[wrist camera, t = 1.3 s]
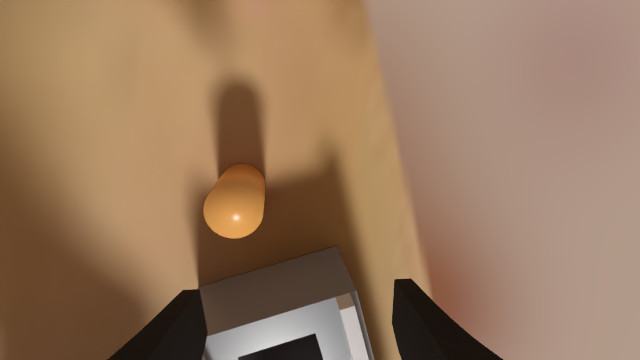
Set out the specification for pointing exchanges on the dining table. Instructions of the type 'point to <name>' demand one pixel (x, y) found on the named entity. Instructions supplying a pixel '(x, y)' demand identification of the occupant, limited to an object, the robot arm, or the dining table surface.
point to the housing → (287, 313)
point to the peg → (236, 202)
